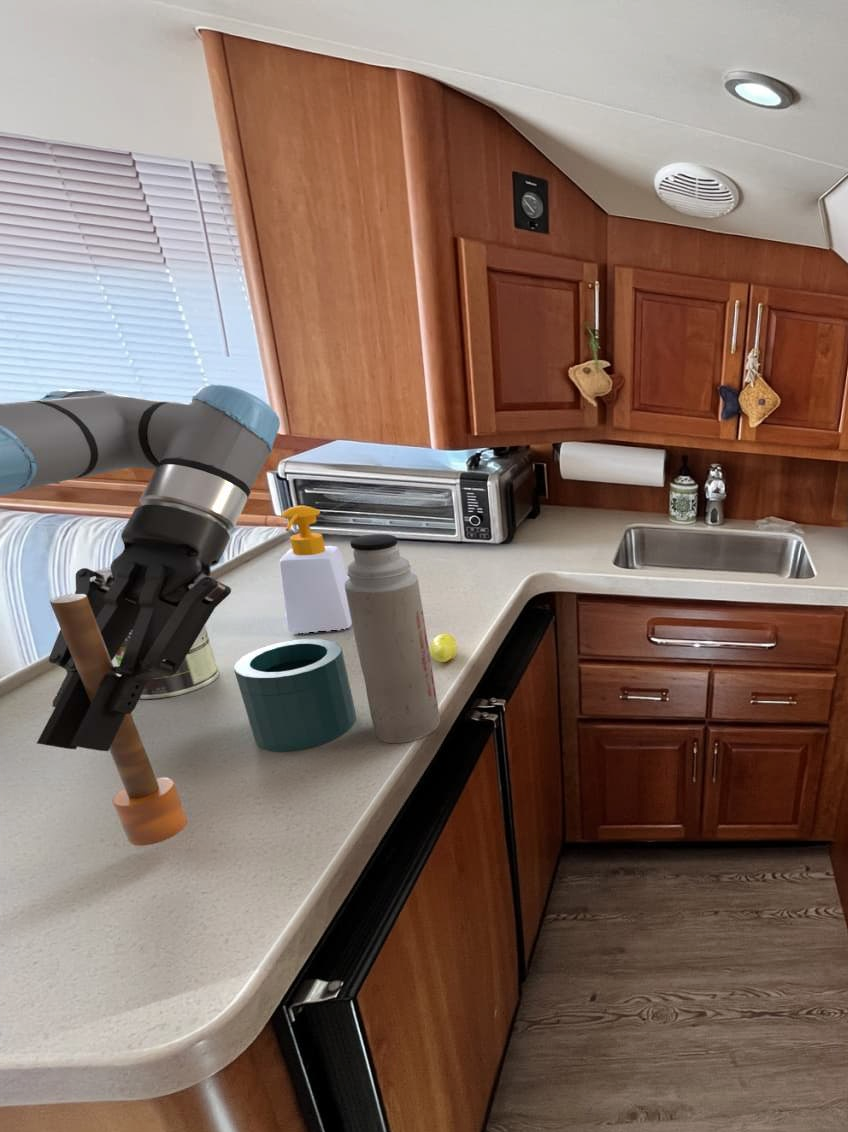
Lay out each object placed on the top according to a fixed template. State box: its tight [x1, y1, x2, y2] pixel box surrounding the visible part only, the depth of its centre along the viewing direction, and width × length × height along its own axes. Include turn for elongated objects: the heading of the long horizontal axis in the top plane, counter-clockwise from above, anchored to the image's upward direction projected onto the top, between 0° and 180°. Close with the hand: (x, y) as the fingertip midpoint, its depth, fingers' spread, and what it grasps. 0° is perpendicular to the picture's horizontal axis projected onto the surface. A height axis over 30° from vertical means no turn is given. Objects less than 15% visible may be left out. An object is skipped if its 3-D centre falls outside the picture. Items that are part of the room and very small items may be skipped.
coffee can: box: [114, 601, 220, 700], centre depth 93 cm, size 10×10×14 cm
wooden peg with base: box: [49, 593, 189, 847], centre depth 60 cm, size 4×4×26 cm
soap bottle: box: [278, 505, 352, 635], centre depth 111 cm, size 10×14×22 cm
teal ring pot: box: [233, 638, 357, 752], centre depth 86 cm, size 11×11×11 cm
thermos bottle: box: [345, 533, 441, 744], centre depth 84 cm, size 8×8×28 cm
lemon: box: [429, 633, 459, 663], centre depth 108 cm, size 4×8×4 cm, turn 22°
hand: (73, 746), depth 57 cm, fingers closed on wooden peg with base, 2 cm apart
